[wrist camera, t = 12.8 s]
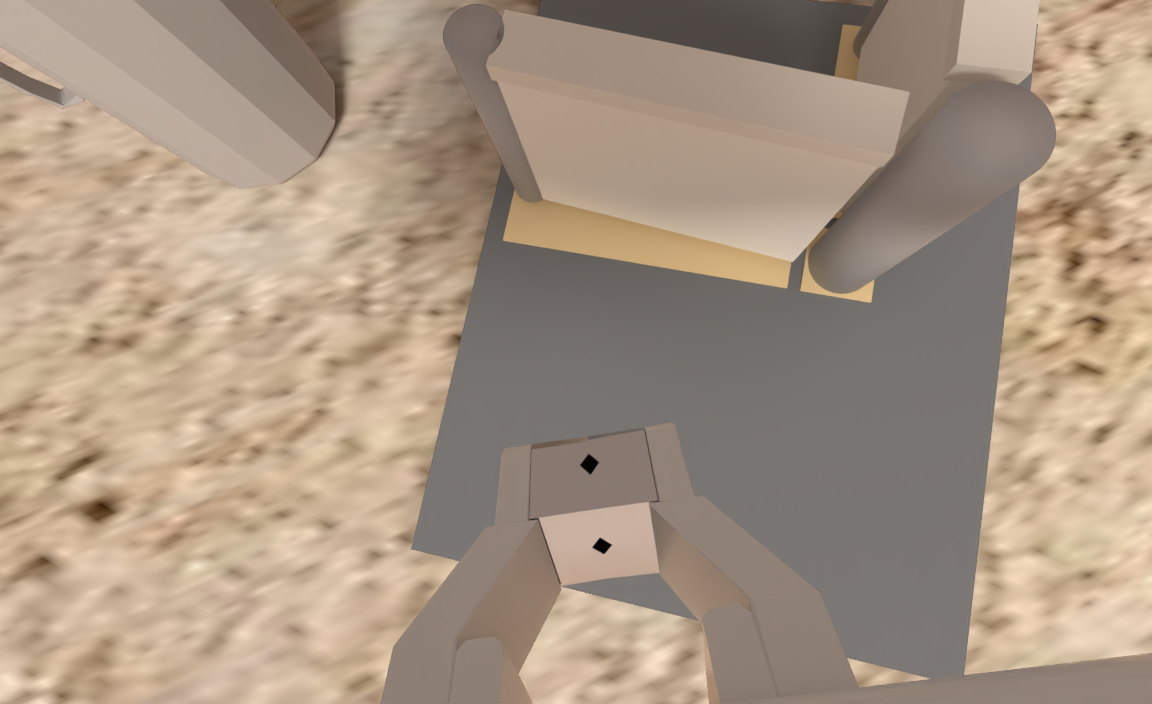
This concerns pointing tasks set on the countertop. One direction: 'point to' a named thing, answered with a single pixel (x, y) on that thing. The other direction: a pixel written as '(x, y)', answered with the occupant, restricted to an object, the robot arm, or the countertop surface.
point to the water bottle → (183, 77)
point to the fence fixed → (939, 129)
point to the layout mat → (748, 371)
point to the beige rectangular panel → (671, 129)
